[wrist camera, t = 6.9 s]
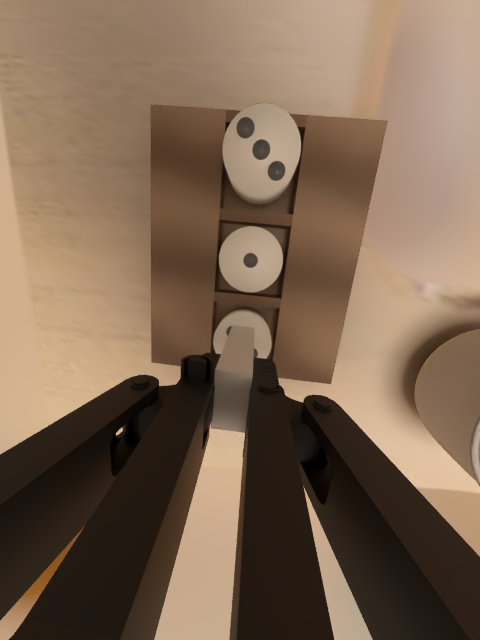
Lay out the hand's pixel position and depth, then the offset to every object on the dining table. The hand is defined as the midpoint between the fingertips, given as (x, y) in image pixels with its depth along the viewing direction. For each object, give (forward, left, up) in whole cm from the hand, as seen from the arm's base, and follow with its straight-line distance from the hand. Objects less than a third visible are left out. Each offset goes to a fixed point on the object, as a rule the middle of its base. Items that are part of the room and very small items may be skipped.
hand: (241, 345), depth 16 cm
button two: (0, 0, -3) cm, 3 cm away
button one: (-6, 0, -3) cm, 6 cm away
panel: (-6, 0, -4) cm, 7 cm away
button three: (-11, 0, -2) cm, 11 cm away
